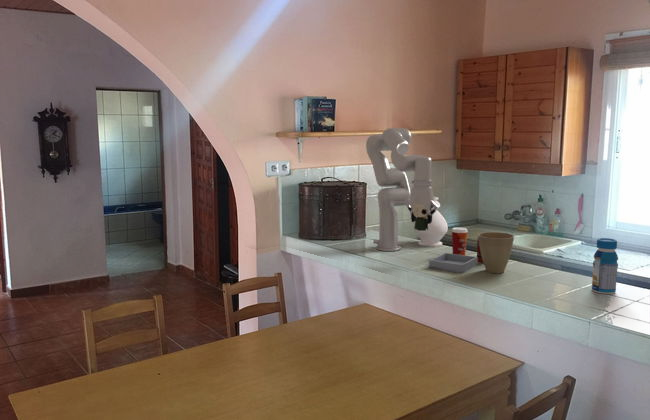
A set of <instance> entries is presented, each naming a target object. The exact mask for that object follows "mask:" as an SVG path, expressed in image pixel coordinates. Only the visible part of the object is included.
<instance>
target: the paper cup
mask: <svg viewBox="0 0 650 420" xmlns="http://www.w3.org/2000/svg"><path fill="white" fill-rule="evenodd" d="M468 233H469V231H468V228H466V227H458V226H457V227H453V228H452V229H451V239H452V240H451V242H452V244H451V246H452V254H457V255H465V256H466V249H467V241H468V240H467V235H468Z"/></svg>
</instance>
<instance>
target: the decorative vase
mask: <svg viewBox="0 0 650 420" xmlns="http://www.w3.org/2000/svg"><path fill="white" fill-rule="evenodd" d="M433 198H434V202H435V203H436V204H437V205H438V206H439V208H441V203H440V202H439V201H438V200H439V197H438V196H433ZM431 209H432V210H433V209H434V206H433V208H431ZM444 217H445V216H443V215H442V213H441V212H440V211H438V209H437V210H436V212H435V213H434V214H433V215H432V222H431V223H430V224H428V230H427V228H426V230H425V231H418V230H416V229H414V227H415V222H413V231H414V233H416V235H417V237H418V238H419V239H420V240H419V241H418V244H419V245H420V246H426V247H440V246H442V245H443V242H442V241H441V240H442V239H443V237H444V236H445V234H446V233H447V232H448V230H449V229H448V228H449V227H448V222H447V220H446V219H445V218H444ZM446 235H447V234H446Z"/></svg>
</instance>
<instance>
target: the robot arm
mask: <svg viewBox="0 0 650 420" xmlns="http://www.w3.org/2000/svg"><path fill="white" fill-rule="evenodd" d="M411 140H412V134H411V132H410V130H409V129H408V128H404V127H396V128H395V127H390V128H387V129H385V130H384V131H383V132H382V134H381V133H380V134H373V135H370V136H368V137H367V139H366V142H365V143H366V144H365V148H366V150H365V151H366V153H367V155H368V158H369V160H370V162H371V165H372V169H373V173H374V177H375V180H376V183H377V185H378V186H379V187H382V188H381V189H380V190H378V193H377V203H378V209H379V213H378V215H379V218H378V219H379V223H378V224H379V229H378V232H379V235H378V236H379V239H376V238H374V239H373V242H372V243H373V244H376V248H375V249H376V250H378V251H381V252H397V251H400V250H401V249H402V247H401V245H399V214H398V212H397V210H396V208H395V207H402V206H406V208H407V209H408V211H409V213H410V219H411V223H415V220H416V218H417V217H416V216H414V214H413V209H414V208H415V203H419V204H423V208H424V209H423V210H427V212H428V215H427V224H430V223H431V222H432V215H433V214H434V213H435V212H436V210H437V211H438V210H439V208H440V207H439V206H438V205H437V204H436V203H435V202H434V198H433V197H434V190H433V187H432V158H431V157H430V156H424V155H421V154H415V155H414V154H408V155H407V154H406V153H407V152H408V151H409V149H410V145H409V144H410V143H411ZM383 151H385V152H386V151H388V152H389V151H391V153H390V161H391V164H392V165H393V166H394V167H393V168H392V167H391V166H390V162H389V159H388V157H387V156H386V155H385V154H383ZM408 172H414V174H413V175H414V177H413V178H414V179H413V180H411V184H413V186H412V187H410V183H409V180H408V176H407V173H408ZM433 206H434V209H433V210H432V209H431V208H433Z"/></svg>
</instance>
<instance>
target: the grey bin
mask: <svg viewBox="0 0 650 420" xmlns="http://www.w3.org/2000/svg"><path fill="white" fill-rule="evenodd" d="M478 263H479V261H478V257H477V256H472V255H466V254H465V255H457V254H453V253H451V252H450V253H448V252H445V253H442V254H440V255H438V256H435V257H434V258H431V259H429V260H428V268H429V269H434V270H440V271H441V270H442V271H447V272H453V273H460V274H463V273H465V272H467V271H469V270H471V269H472V268H474V267H476V266H478V265H479V264H478Z"/></svg>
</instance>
